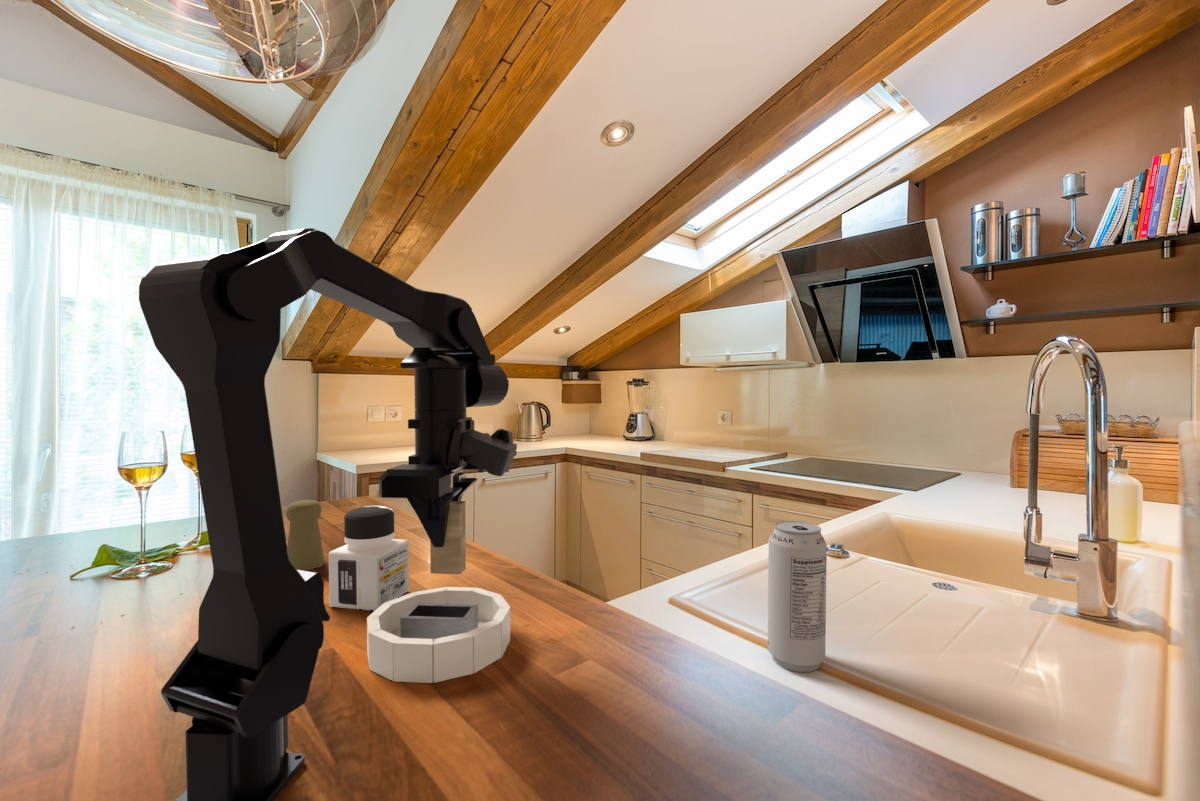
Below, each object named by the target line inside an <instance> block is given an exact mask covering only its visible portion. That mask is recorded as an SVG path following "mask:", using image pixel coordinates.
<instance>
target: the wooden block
mask: <svg viewBox="0 0 1200 801" xmlns="http://www.w3.org/2000/svg"><path fill="white" fill-rule="evenodd" d="M429 541H430V542H429V543H430V544H429V545H430V546H429V547H430V549H429V550H430V574H433V575H435V574H436V575H438V574H439V575H440V574H441V575H461V574H463V573H464V571H465V570H466V569H467V568H466V565H467V564H466V562H467V561H466V557H467V556H466V554H467V553H466V550H467V549H466V501H465V500H463V501H462V500H461V501H451V502H450V507H449V514H448V522H447V530H446V537H445V543H444V546H443V547H434V546H433V544H432V542H431V540H430V539H429Z"/></svg>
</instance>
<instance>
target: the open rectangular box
mask: <svg viewBox="0 0 1200 801" xmlns="http://www.w3.org/2000/svg"><path fill="white" fill-rule="evenodd" d="M400 622H401V638H421V639H436V638H441V637H446V636H451V635H457V634H462V633H467V632H470V631H472V630H474V629H476V628H478V605H463V604H429V603H415V604H414V605H413V606H412V607H411V608H410V609H409V610H408V611H407V612H406V613H405V614H404V615H403V616H402V617H401V618H400Z"/></svg>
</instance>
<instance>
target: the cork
mask: <svg viewBox="0 0 1200 801" xmlns="http://www.w3.org/2000/svg"><path fill="white" fill-rule="evenodd" d="M285 510H286V512H285V513H286V518H287V520H288V521H289V528H288V538H287V549H288V555H289V558H290V561H291V563H292V564H293V565H294V567H295V568H296V569H299V570H308V571H311V570H310V569H313V568H316V569H318V568H317V567H319V566H321V565H323V564H324V563H325V564H326V561H325V557H324V556H325V555H324V549H323V543H322V538H321V537H322V536H321V532H320V525H319V518H320V516H321V514H322V506H321V504H320V503H319V501H317V500H315V499H301V500H297V501H293V502H291V503H289V504H288V506H287V507H286V509H285ZM325 564H324V565H325ZM324 565H323V566H324ZM321 567H322V566H321ZM319 568H320V567H319ZM313 570H314V569H313Z"/></svg>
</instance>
